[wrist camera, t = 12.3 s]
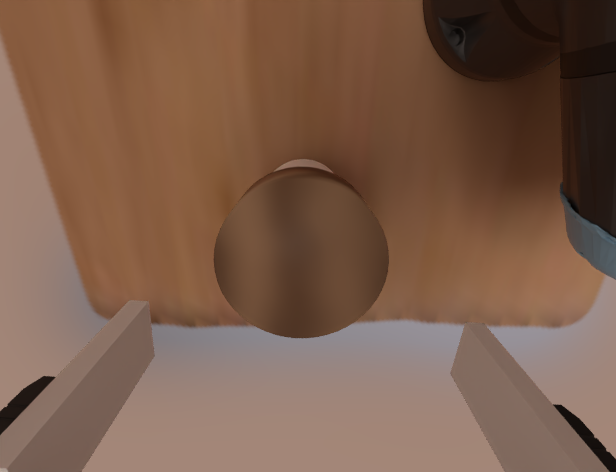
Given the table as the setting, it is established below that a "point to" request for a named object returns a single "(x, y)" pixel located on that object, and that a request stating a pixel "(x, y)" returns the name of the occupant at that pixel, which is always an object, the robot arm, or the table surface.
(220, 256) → the walnut lid
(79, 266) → the table surface
